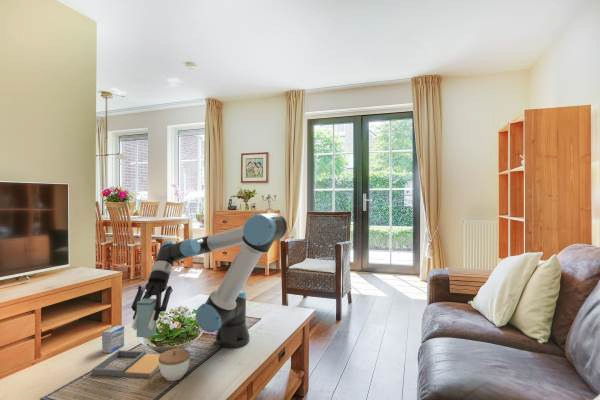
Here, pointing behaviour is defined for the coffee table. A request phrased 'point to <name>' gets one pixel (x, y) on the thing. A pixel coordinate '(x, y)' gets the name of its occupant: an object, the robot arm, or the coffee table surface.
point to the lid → (144, 367)
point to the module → (145, 317)
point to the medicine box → (113, 339)
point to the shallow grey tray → (114, 372)
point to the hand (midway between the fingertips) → (142, 328)
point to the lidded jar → (174, 363)
